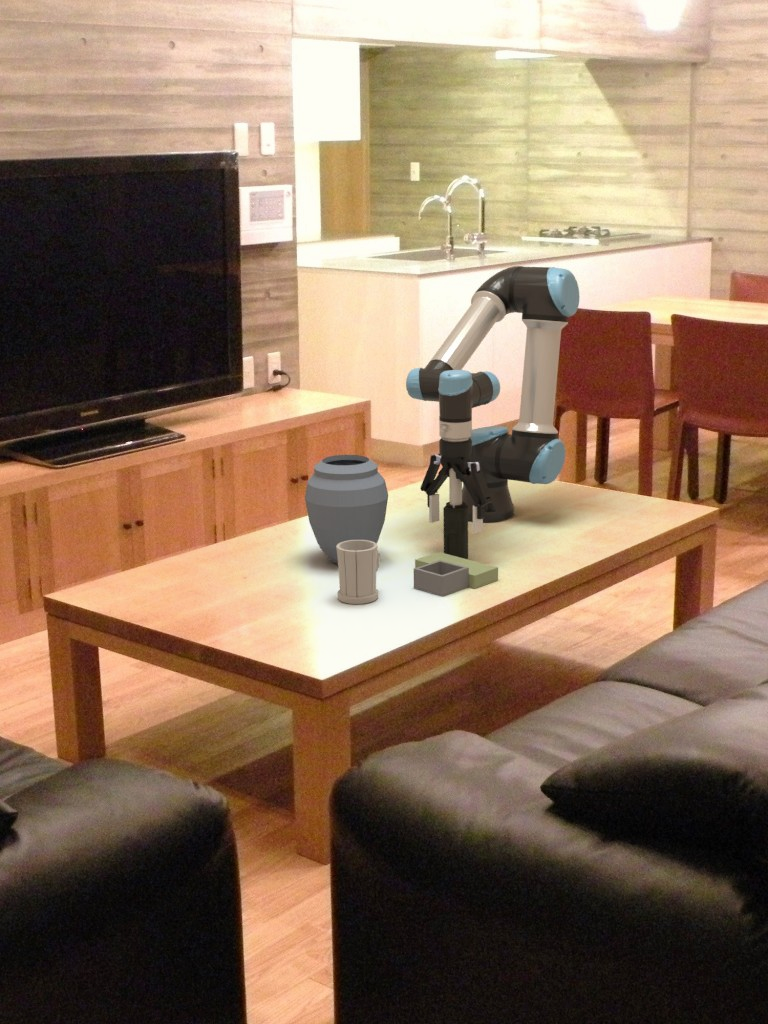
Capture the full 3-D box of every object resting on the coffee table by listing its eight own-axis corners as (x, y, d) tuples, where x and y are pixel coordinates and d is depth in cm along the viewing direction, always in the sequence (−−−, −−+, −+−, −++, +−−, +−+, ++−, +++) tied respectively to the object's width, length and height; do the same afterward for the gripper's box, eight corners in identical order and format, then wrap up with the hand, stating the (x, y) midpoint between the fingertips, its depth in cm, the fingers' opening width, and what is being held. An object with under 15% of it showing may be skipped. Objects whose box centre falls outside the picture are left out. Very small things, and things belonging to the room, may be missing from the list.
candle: (469, 556, 328) (469, 453, 321) (463, 562, 323) (463, 458, 316) (448, 554, 329) (448, 452, 323) (442, 560, 324) (441, 457, 318)
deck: (388, 580, 311) (388, 561, 309) (438, 564, 322) (438, 545, 321) (448, 598, 298) (448, 578, 297) (498, 580, 310) (498, 561, 308)
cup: (339, 589, 305) (338, 537, 302) (380, 589, 305) (379, 537, 302) (336, 605, 295) (334, 551, 292) (378, 604, 295) (377, 551, 292)
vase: (289, 562, 326) (285, 461, 319) (347, 543, 339) (345, 447, 333) (348, 578, 313) (346, 474, 306) (406, 558, 326) (405, 458, 320)
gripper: (405, 433, 324) (406, 520, 330) (486, 448, 307) (485, 539, 313) (427, 428, 329) (427, 514, 335) (507, 442, 312) (507, 533, 318)
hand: (455, 526), depth 324 cm, fingers open, 13 cm apart
